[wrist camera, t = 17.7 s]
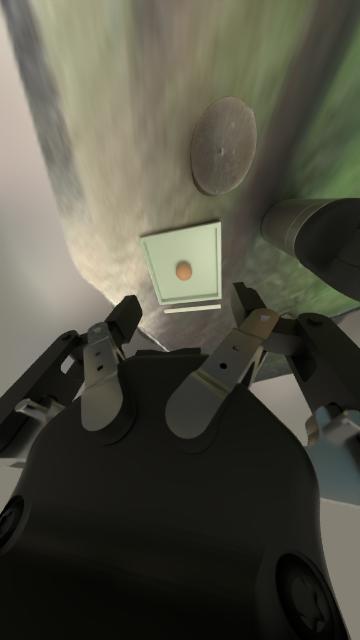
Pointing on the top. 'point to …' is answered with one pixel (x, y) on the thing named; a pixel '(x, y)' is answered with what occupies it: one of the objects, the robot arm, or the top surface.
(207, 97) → the top surface
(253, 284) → the top surface
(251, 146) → the pillar candle
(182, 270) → the ball
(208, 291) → the tray
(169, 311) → the strip
